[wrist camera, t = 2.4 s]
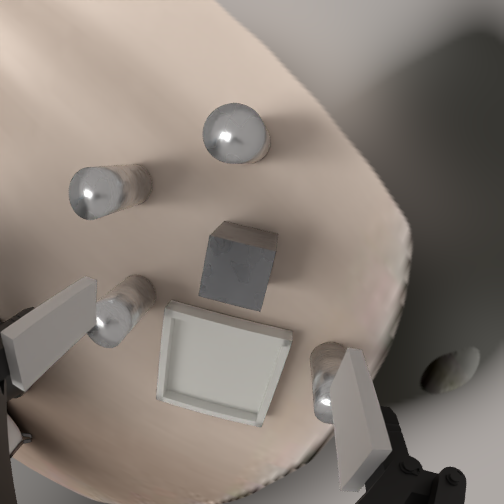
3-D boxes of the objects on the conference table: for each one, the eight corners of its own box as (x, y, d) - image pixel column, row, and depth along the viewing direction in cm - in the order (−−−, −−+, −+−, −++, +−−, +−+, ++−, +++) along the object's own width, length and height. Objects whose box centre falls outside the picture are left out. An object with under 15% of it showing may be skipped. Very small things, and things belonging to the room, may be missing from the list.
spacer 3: (264, 168, 28) (256, 169, 20) (220, 158, 28) (197, 157, 20) (275, 124, 27) (270, 109, 19) (230, 115, 27) (210, 98, 19)
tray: (262, 416, 35) (261, 427, 33) (161, 389, 36) (156, 399, 34) (292, 330, 32) (292, 341, 30) (171, 299, 32) (164, 308, 30)
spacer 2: (154, 314, 33) (121, 353, 25) (121, 303, 33) (83, 339, 25) (157, 280, 32) (122, 314, 24) (123, 270, 32) (82, 300, 24)
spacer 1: (148, 208, 30) (106, 224, 22) (113, 200, 30) (66, 214, 22) (155, 167, 29) (113, 171, 21) (119, 161, 29) (71, 164, 21)
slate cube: (265, 284, 31) (260, 311, 25) (214, 271, 31) (198, 295, 25) (278, 233, 29) (276, 251, 24) (224, 220, 30) (209, 235, 24)
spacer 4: (339, 375, 33) (349, 426, 25) (305, 369, 33) (308, 420, 25) (352, 346, 32) (367, 394, 24) (316, 339, 32) (323, 388, 24)
